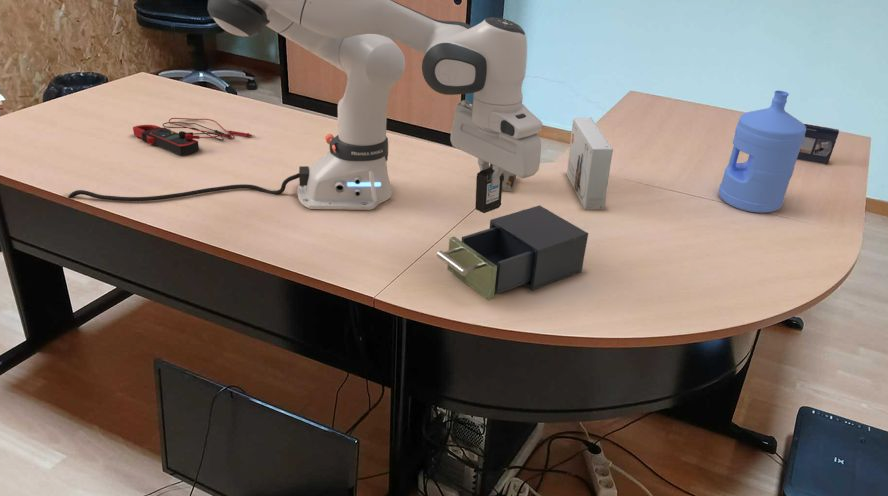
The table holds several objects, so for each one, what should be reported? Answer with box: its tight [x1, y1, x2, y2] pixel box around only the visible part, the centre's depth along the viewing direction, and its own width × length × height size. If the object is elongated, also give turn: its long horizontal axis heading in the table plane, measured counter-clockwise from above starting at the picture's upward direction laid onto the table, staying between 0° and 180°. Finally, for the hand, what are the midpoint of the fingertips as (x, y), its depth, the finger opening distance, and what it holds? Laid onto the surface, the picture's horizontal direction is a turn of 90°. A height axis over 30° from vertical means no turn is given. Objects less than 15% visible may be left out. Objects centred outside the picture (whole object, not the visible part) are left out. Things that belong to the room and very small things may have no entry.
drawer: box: [436, 227, 535, 302], centre depth 143 cm, size 17×13×7 cm
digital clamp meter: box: [132, 117, 254, 157], centre depth 199 cm, size 23×4×25 cm
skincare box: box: [566, 116, 614, 211], centre depth 182 cm, size 21×5×16 cm, turn 5°
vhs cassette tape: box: [797, 123, 840, 165], centre depth 213 cm, size 18×3×10 cm, turn 68°
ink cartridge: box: [474, 167, 503, 214], centre depth 141 cm, size 5×2×8 cm, turn 132°
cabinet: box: [488, 205, 589, 291], centre depth 150 cm, size 14×15×9 cm
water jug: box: [718, 90, 806, 214], centre depth 180 cm, size 16×16×28 cm
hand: (489, 182), depth 140 cm, fingers closed, pressing on ink cartridge
